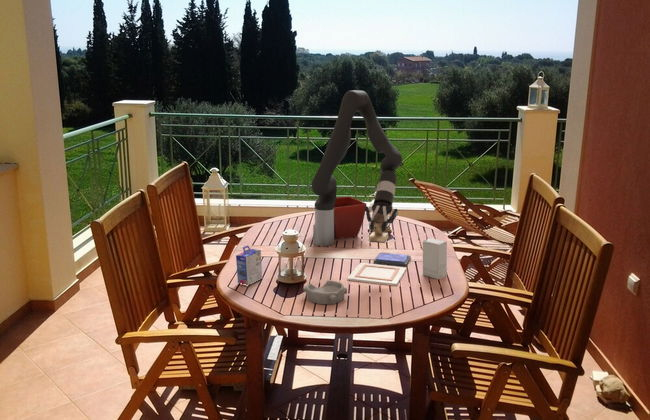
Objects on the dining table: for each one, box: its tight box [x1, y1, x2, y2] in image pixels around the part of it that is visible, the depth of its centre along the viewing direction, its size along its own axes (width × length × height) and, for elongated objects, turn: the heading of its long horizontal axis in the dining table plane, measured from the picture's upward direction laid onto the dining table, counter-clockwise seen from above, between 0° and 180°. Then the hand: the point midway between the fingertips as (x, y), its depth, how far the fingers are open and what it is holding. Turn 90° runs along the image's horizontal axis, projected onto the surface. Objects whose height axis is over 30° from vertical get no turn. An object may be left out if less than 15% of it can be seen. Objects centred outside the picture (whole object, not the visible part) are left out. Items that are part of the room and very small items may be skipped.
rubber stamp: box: [368, 213, 389, 244], centre depth 253 cm, size 6×6×11 cm
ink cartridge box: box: [235, 245, 263, 285], centre depth 248 cm, size 10×6×14 cm, turn 149°
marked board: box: [346, 262, 407, 286], centre depth 257 cm, size 20×20×1 cm
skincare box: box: [422, 237, 448, 280], centre depth 255 cm, size 8×6×15 cm
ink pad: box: [373, 252, 412, 268], centre depth 274 cm, size 14×11×2 cm
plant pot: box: [315, 196, 367, 240], centre depth 312 cm, size 19×19×17 cm
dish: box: [303, 280, 348, 305], centre depth 232 cm, size 14×14×5 cm
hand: (377, 230), depth 251 cm, fingers closed on rubber stamp, 4 cm apart
